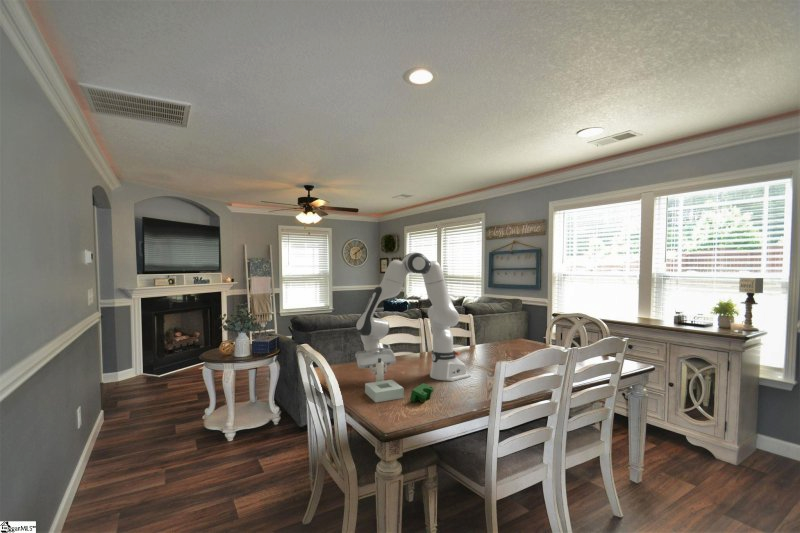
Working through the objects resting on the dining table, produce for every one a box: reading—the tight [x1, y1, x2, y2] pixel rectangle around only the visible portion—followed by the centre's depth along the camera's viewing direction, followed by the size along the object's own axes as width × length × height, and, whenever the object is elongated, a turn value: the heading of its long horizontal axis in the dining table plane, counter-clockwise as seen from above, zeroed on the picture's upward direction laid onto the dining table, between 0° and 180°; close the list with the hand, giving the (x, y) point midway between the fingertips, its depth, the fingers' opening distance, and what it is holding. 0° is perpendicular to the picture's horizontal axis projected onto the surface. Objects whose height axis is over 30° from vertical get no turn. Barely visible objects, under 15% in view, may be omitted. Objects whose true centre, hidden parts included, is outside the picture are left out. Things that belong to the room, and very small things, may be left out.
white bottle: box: [375, 358, 385, 382], centre depth 191 cm, size 4×4×14 cm
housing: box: [364, 379, 405, 404], centre depth 178 cm, size 14×14×4 cm
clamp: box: [409, 382, 435, 403], centre depth 172 cm, size 12×6×9 cm, turn 144°
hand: (380, 373), depth 190 cm, fingers closed on white bottle, 4 cm apart
